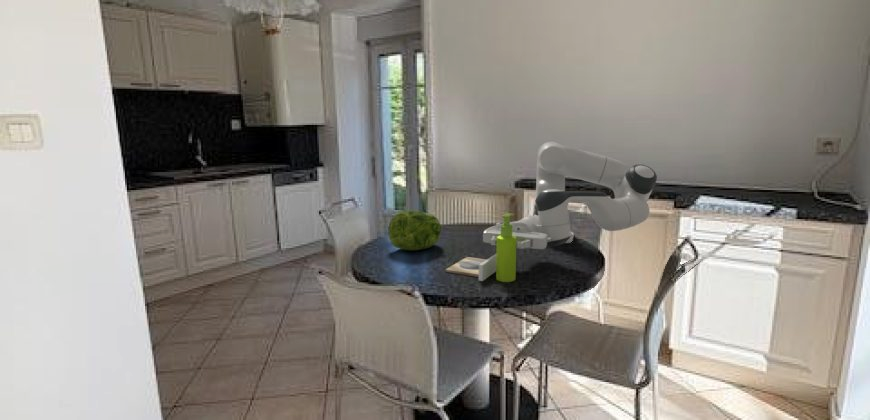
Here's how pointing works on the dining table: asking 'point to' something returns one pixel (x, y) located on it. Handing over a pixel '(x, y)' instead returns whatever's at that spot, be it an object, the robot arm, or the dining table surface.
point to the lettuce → (414, 230)
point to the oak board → (466, 266)
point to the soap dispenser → (506, 252)
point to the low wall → (487, 268)
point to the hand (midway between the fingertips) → (506, 244)
